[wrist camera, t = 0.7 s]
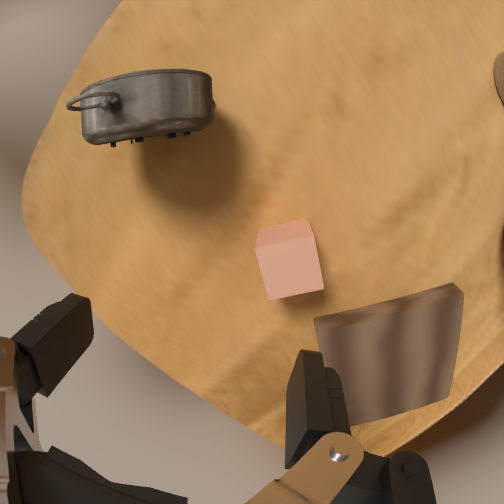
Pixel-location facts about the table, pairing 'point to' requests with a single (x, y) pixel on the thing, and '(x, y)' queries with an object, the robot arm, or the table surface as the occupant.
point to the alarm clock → (145, 105)
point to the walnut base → (394, 352)
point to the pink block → (288, 259)
